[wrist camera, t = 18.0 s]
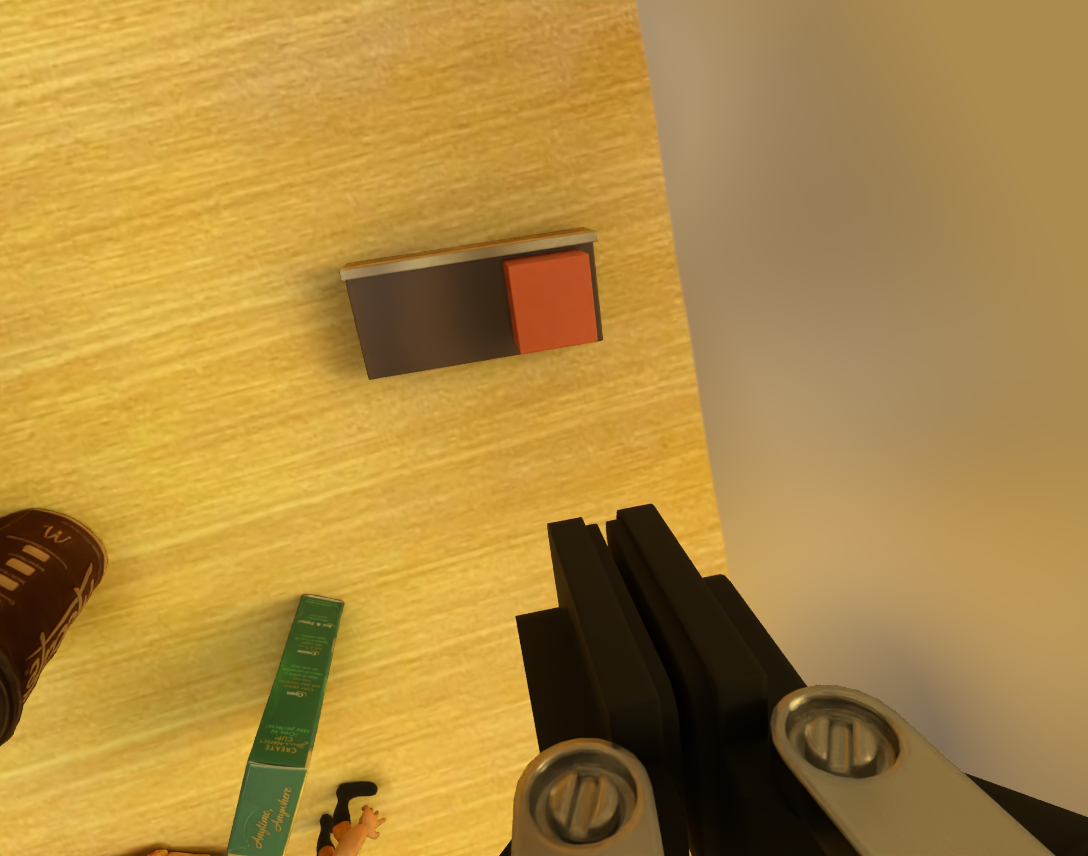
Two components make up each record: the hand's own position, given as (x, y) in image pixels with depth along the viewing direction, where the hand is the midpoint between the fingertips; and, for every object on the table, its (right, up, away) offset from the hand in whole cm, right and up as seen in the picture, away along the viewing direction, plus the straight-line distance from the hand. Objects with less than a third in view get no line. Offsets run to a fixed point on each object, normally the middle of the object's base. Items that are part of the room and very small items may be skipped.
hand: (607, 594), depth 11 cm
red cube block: (-1, +10, +25) cm, 27 cm away
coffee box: (-16, -12, +33) cm, 39 cm away
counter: (-5, +10, +27) cm, 29 cm away
